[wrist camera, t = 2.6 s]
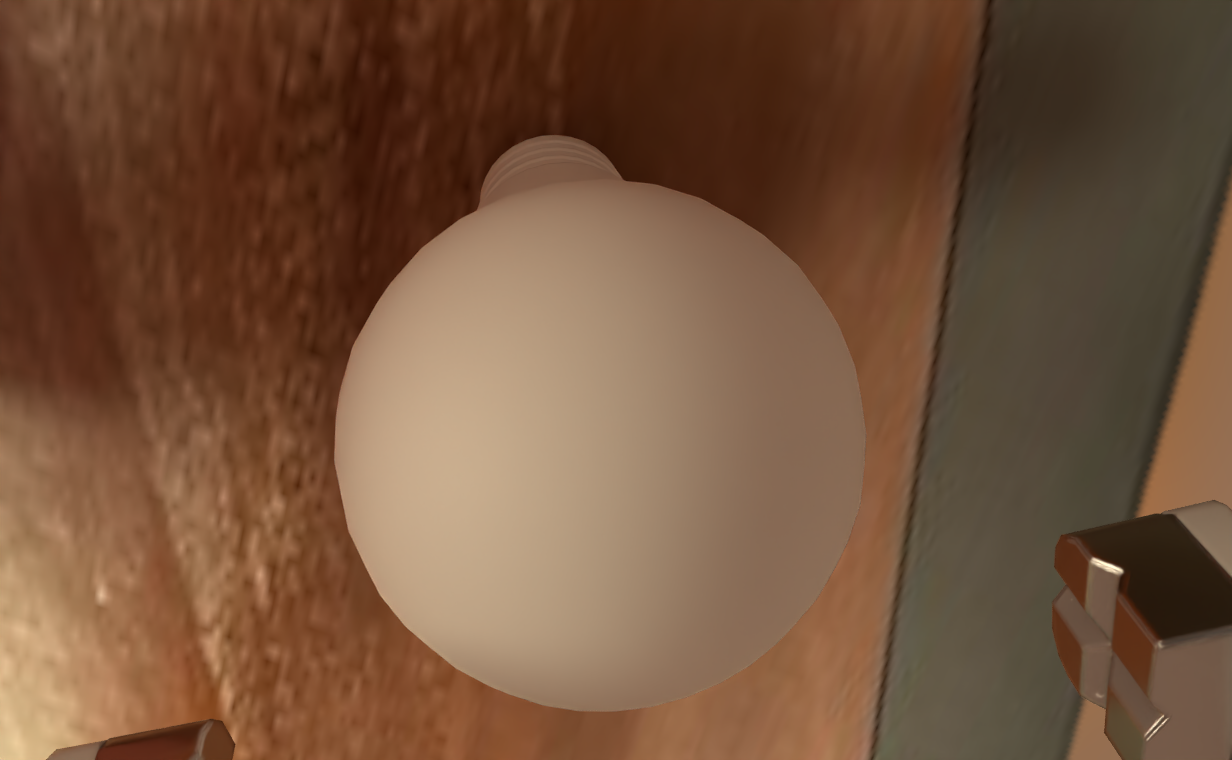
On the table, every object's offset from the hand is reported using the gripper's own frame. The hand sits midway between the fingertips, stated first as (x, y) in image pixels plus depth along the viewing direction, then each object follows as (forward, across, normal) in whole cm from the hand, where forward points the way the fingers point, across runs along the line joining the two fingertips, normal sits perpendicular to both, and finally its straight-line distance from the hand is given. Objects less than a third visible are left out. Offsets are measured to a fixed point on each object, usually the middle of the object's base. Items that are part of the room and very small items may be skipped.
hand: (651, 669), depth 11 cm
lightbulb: (+11, 0, -1) cm, 11 cm away
